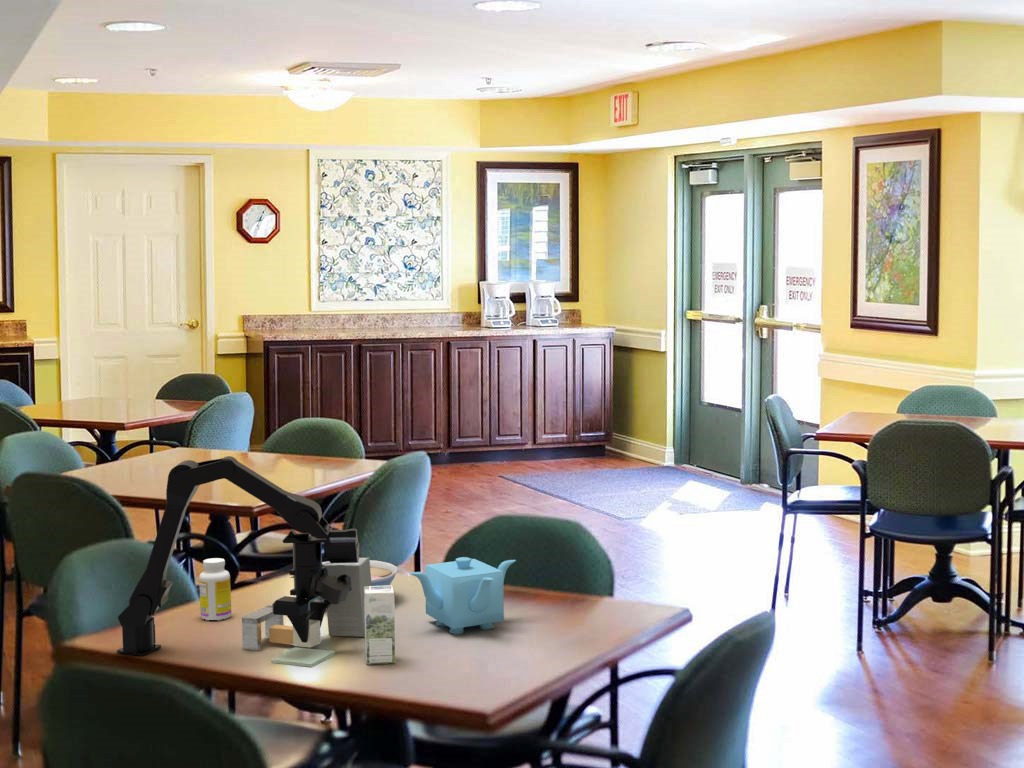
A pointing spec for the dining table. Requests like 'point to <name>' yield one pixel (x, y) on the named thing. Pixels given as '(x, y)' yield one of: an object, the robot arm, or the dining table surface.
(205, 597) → the supplement bottle
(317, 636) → the plug
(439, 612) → the teakettle
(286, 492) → the robot arm
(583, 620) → the dining table surface
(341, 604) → the skincare box
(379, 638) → the syrup box
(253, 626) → the grey bridge block
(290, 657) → the pad
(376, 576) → the ramen bowl
